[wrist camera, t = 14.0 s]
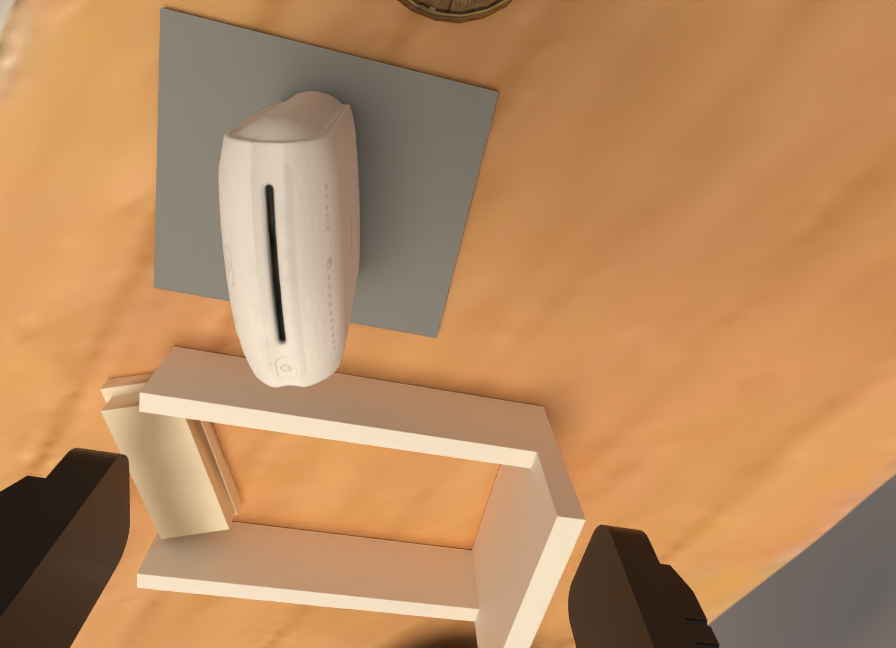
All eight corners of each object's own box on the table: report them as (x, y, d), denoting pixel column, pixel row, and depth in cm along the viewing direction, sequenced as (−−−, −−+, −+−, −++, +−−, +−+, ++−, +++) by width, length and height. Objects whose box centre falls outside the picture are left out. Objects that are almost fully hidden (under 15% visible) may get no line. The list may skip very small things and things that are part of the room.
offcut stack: (193, 364, 36) (176, 390, 33) (243, 498, 41) (231, 531, 38) (111, 375, 36) (87, 403, 33) (171, 508, 41) (154, 542, 38)
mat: (497, 91, 30) (499, 92, 29) (436, 334, 35) (436, 337, 35) (164, 7, 27) (160, 7, 27) (157, 284, 33) (154, 287, 32)
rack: (543, 406, 38) (585, 520, 29) (486, 564, 44) (507, 698, 35) (173, 346, 35) (93, 454, 26) (166, 526, 41) (99, 665, 32)
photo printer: (364, 287, 33) (344, 412, 22) (286, 285, 33) (227, 412, 22) (360, 91, 29) (332, 127, 18) (270, 88, 28) (185, 122, 17)
